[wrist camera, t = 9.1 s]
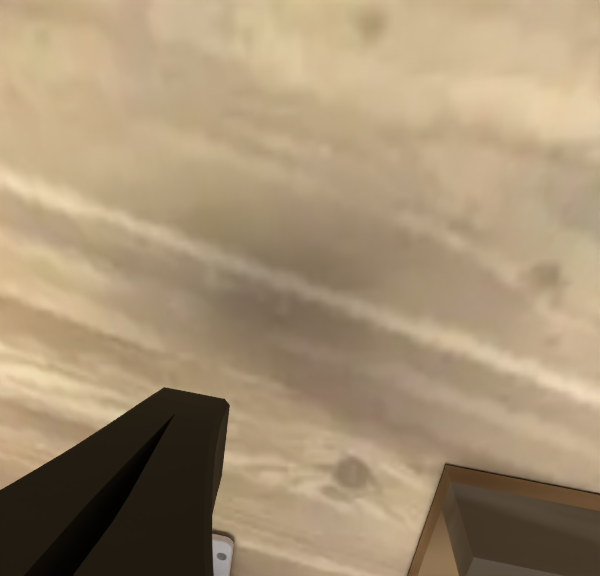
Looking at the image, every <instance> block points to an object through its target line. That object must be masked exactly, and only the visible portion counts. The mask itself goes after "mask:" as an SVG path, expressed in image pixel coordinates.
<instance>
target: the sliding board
mask: <svg viewBox="0 0 600 576" xmlns="http://www.w3.org/2000/svg"><path fill="white" fill-rule="evenodd" d="M408 576H600V495H597V494H592V493H587V492H582V491H577V490H572V489H567V488H561V487H556V486H551V485H546V484H541V483H536V482H531V481H526V480H520V479H515V478H510V477H505V476H500V475H495V474H490V473H485V472H480V471H474V470H469V469H464V468H459V467H454V466H449V465H446V466H445V469H444V472H443V475H442V478H441V481H440V484H439V486H438V489H437V492H436V495H435V498H434V501H433V504H432V507H431V510H430V513H429V516H428V518H427V521H426V524H425V527H424V530H423V533H422V536H421V539H420V542H419V545H418V548H417V550H416V553H415V556H414V559H413V562H412V565H411V568H410V571H409V574H408Z"/></svg>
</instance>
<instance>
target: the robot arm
mask: <svg viewBox="0 0 600 576" xmlns="http://www.w3.org/2000/svg"><path fill="white" fill-rule="evenodd" d="M229 407H230V405H229V404H228V403H227V401H226V400H225V399H222V398H217V397H212V396H207V395H201V394H196V393H191V392H186V391H181V390H175V389H170V388H165V387H164V388H162V389H161V390H159V391H158V392H156V393H155V394H153V395H152V396H150V397H148V398H147V399H145V400H144V401H142V402H141V403H139V404H138V405H136V406H135V407H134V408H132V409H131V410H129V411H128V412H126V413H125V414H123V415H122V416H120V417H119V418H117V419H116V420H114V421H113V422H111V423H110V424H108V425H107V426H105V427H104V428H102V429H100V430H99V431H97V432H96V433H94V434H93V435H91V436H90V437H88V438H86V439H85V440H83V441H82V442H80V443H79V444H77V445H76V446H74V447H72V448H71V449H69V450H68V451H66V452H65V453H63V454H61V455H60V456H58V457H56V458H54V459H53V460H51V461H49V462H48V463H46V464H44V465H43V466H41V467H39V468H37V469H36V470H34V471H32V472H31V473H29V474H27V475H26V476H24V477H22V478H20V479H19V480H17V481H15V482H14V483H12V484H10V485H9V486H7V487H5V488H3V489H1V490H0V576H230V569H231V562H232V555H233V547H234V543H233V541H232V540H231V539H230V538H229V537H226V536H221V535H217V534H212V513H213V509H214V504H215V500H216V496H217V492H218V488H219V485H220V481H221V477H222V468H223V459H224V451H225V442H226V433H227V424H228V415H229Z"/></svg>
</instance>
